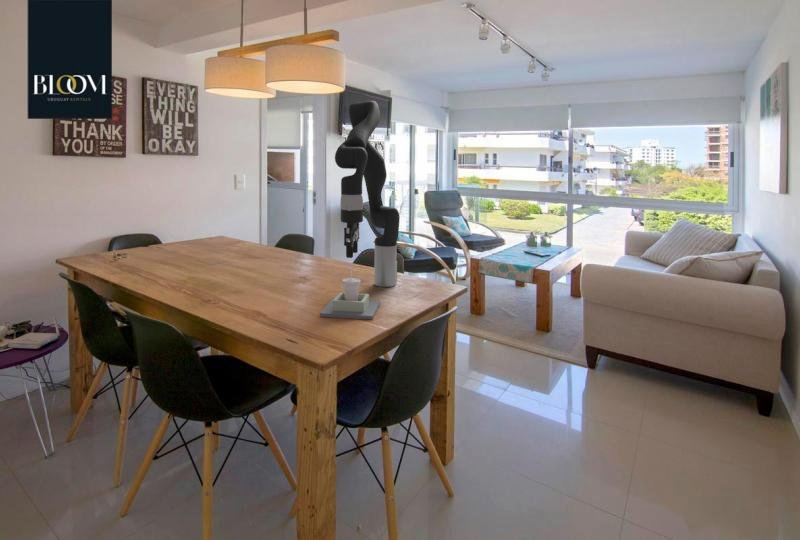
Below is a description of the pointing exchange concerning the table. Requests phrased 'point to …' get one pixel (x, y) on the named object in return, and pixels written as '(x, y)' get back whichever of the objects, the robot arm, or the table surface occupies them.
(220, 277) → the table surface
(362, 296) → the stand
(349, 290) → the smoothie
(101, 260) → the table surface
